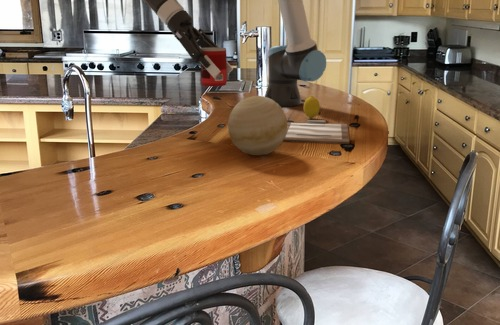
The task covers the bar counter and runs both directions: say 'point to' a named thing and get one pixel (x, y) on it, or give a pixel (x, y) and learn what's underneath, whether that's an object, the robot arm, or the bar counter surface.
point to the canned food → (219, 60)
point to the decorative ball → (257, 125)
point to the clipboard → (317, 132)
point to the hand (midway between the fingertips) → (223, 73)
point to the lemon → (311, 107)
